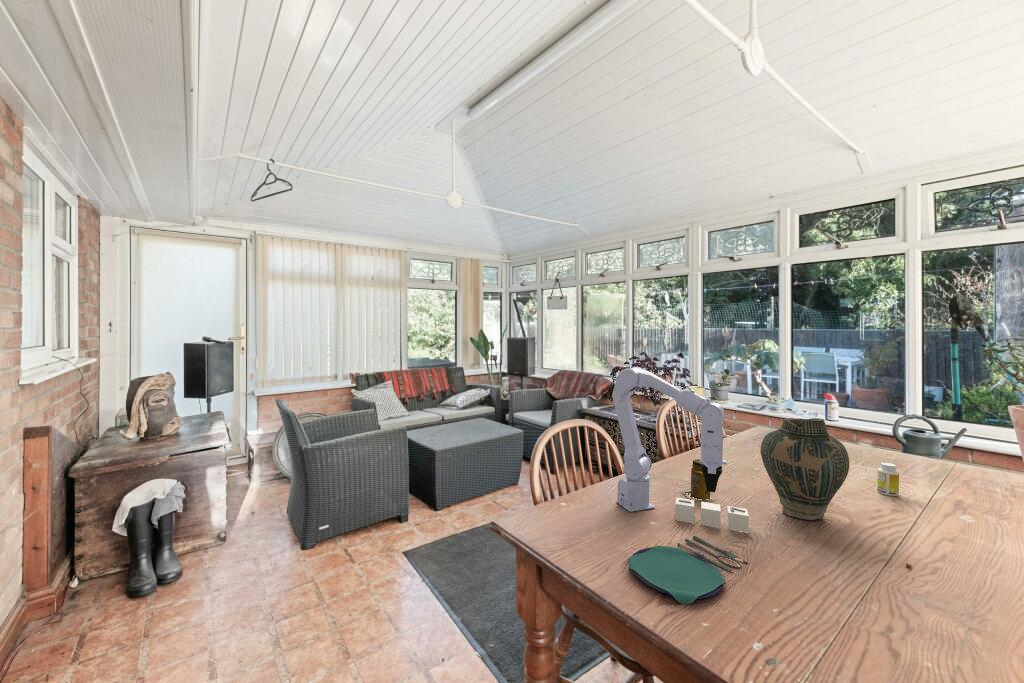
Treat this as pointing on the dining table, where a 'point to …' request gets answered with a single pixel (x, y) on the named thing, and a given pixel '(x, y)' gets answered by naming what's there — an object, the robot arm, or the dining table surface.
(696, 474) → the condiment
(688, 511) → the digit one block
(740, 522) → the digit seven block
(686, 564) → the cutlery set
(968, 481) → the dining table surface
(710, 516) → the plain block
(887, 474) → the supplement bottle
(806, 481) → the vase
